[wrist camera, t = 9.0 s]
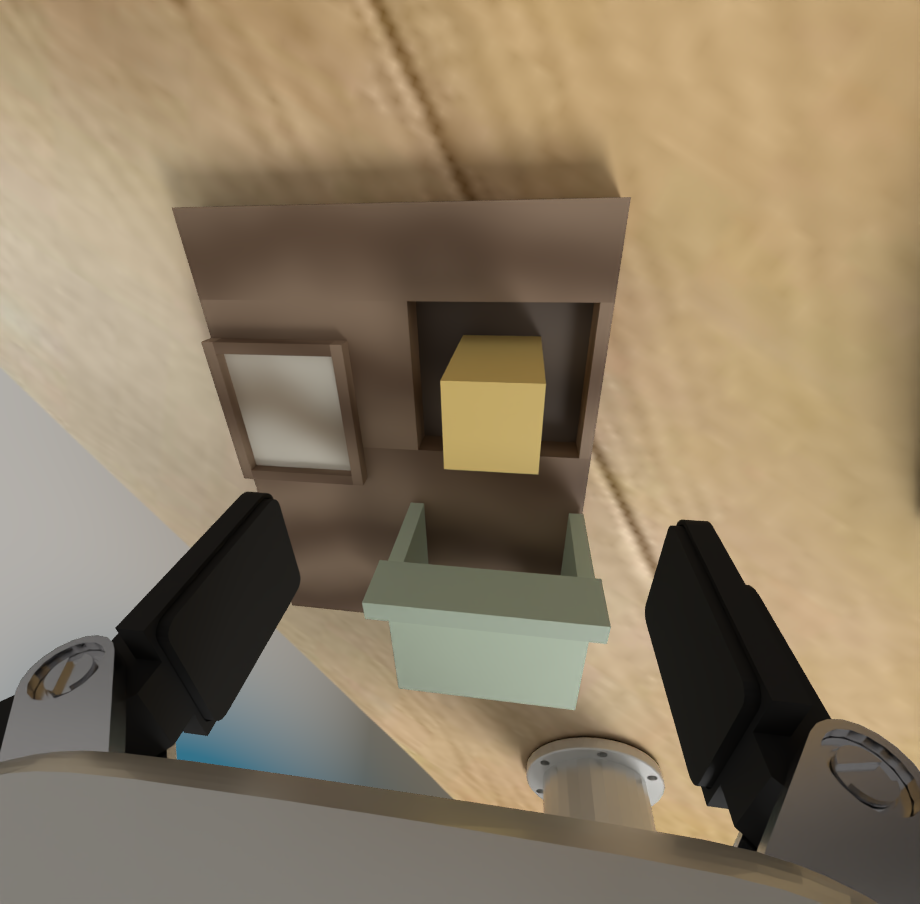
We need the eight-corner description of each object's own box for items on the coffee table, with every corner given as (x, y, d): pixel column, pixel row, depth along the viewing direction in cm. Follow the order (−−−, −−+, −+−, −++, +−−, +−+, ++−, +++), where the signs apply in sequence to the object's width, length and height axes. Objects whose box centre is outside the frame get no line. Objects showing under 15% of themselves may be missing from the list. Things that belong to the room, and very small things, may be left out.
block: (535, 408, 24) (538, 474, 18) (464, 405, 24) (443, 468, 19) (541, 336, 22) (546, 383, 16) (463, 334, 22) (440, 380, 17)
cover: (566, 621, 29) (579, 760, 22) (420, 607, 30) (386, 733, 23) (585, 499, 24) (610, 627, 17) (409, 488, 25) (361, 602, 18)
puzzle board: (562, 609, 32) (565, 648, 29) (304, 585, 34) (284, 618, 31) (621, 198, 19) (637, 196, 16) (200, 207, 21) (151, 207, 18)
